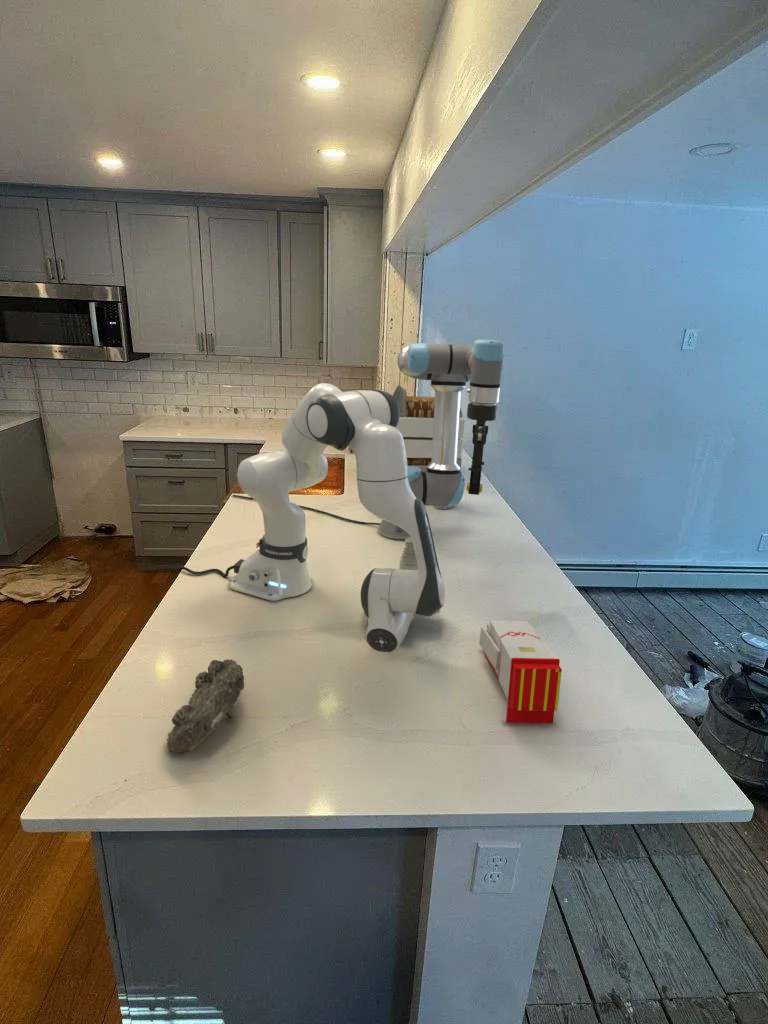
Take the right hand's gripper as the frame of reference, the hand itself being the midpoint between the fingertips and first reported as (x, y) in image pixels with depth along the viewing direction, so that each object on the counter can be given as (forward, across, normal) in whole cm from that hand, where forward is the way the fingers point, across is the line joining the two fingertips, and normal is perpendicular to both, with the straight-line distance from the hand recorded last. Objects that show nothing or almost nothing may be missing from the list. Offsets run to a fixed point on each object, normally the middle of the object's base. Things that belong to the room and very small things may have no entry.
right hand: (474, 491), depth 151 cm
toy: (+30, +40, +12) cm, 51 cm away
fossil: (+30, +65, -45) cm, 84 cm away
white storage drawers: (+30, -118, -26) cm, 125 cm away
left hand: (+23, +12, -15) cm, 30 cm away
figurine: (+30, -72, -11) cm, 79 cm away
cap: (-2, 0, 0) cm, 2 cm away
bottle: (+30, +12, -15) cm, 35 cm away
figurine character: (+30, -151, -66) cm, 168 cm away
